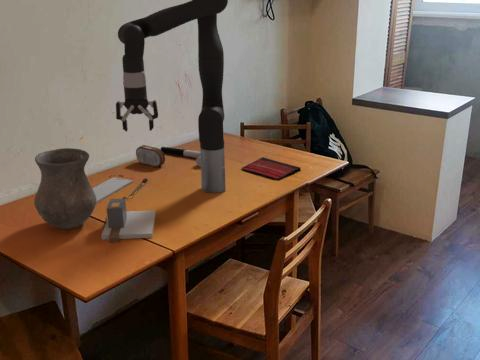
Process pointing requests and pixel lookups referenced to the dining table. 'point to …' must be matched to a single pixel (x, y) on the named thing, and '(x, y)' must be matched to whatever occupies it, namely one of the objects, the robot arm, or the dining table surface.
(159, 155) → the tin
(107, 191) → the baseboard molding
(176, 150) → the claw hammer
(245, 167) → the binder
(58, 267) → the dining table surface
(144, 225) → the board
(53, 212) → the vase
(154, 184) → the dining table surface
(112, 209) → the block
